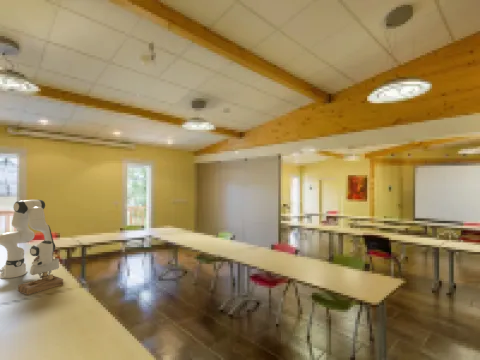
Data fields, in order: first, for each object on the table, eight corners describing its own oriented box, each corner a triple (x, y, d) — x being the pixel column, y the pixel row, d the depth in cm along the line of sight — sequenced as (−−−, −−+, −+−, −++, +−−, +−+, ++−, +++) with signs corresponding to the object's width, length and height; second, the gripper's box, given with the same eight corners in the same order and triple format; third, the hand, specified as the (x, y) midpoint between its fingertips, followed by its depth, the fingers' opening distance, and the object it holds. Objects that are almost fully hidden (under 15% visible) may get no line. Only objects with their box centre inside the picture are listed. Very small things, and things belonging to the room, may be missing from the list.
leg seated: (45, 285, 201) (46, 275, 201) (51, 283, 204) (51, 274, 205) (48, 286, 199) (49, 276, 200) (53, 284, 203) (54, 274, 203)
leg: (40, 281, 208) (41, 272, 208) (45, 280, 211) (46, 270, 212) (43, 282, 206) (43, 272, 207) (48, 281, 210) (48, 271, 210)
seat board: (18, 291, 189) (18, 285, 189) (53, 281, 210) (53, 275, 211) (27, 294, 183) (28, 288, 183) (62, 284, 204) (63, 278, 204)
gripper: (57, 257, 220) (56, 273, 220) (29, 262, 202) (28, 280, 201) (61, 258, 218) (60, 274, 217) (33, 264, 199) (32, 281, 199)
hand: (44, 277), depth 209 cm, fingers closed on leg, 4 cm apart
